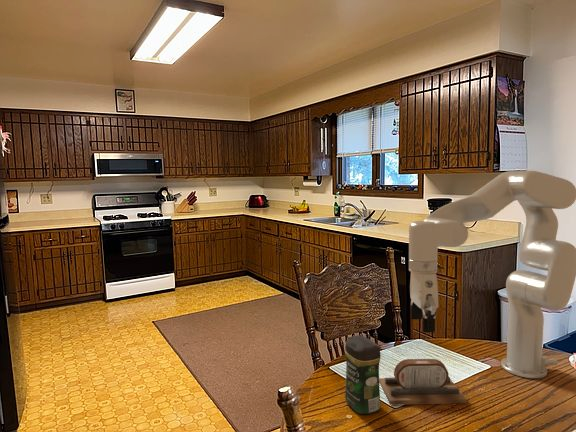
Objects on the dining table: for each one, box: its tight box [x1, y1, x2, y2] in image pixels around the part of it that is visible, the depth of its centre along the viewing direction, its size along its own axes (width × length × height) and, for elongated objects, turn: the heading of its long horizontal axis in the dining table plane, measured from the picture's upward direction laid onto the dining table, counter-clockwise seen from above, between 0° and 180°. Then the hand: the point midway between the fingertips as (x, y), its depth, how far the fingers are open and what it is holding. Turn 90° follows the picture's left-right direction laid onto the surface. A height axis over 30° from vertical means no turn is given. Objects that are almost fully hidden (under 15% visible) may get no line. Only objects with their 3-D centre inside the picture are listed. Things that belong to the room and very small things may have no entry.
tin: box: [393, 358, 449, 388], centre depth 113 cm, size 15×3×8 cm, turn 91°
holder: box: [379, 375, 468, 406], centre depth 114 cm, size 21×12×3 cm, turn 91°
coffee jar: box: [344, 334, 382, 415], centre depth 107 cm, size 10×8×19 cm
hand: (422, 325), depth 112 cm, fingers open, 9 cm apart
